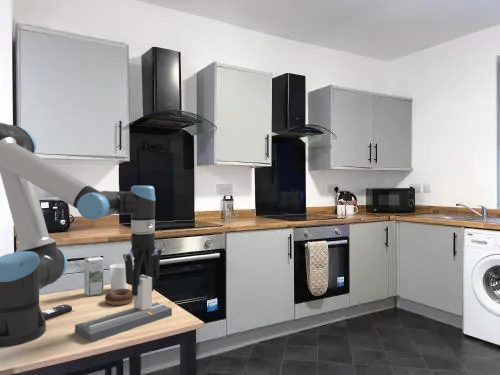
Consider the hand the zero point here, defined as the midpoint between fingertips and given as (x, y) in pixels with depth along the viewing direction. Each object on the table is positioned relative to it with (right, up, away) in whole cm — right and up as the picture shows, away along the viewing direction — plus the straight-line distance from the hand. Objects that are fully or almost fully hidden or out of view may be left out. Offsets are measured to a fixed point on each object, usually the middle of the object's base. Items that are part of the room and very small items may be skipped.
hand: (142, 302), depth 122 cm
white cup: (-19, -4, +32) cm, 37 cm away
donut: (-13, -5, +17) cm, 22 cm away
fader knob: (0, -2, 0) cm, 2 cm away
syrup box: (-27, -5, +26) cm, 37 cm away
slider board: (-4, -5, -4) cm, 8 cm away
